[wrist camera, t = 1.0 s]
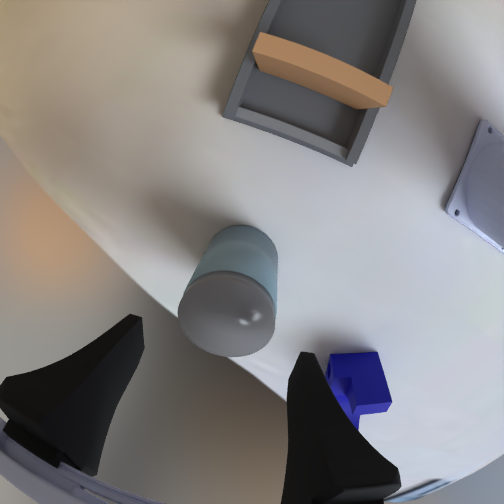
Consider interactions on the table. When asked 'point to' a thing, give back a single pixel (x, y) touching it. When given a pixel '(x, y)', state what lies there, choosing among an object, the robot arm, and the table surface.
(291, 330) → the table surface
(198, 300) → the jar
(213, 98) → the table surface
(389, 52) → the tray
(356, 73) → the bar
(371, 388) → the cable clip
